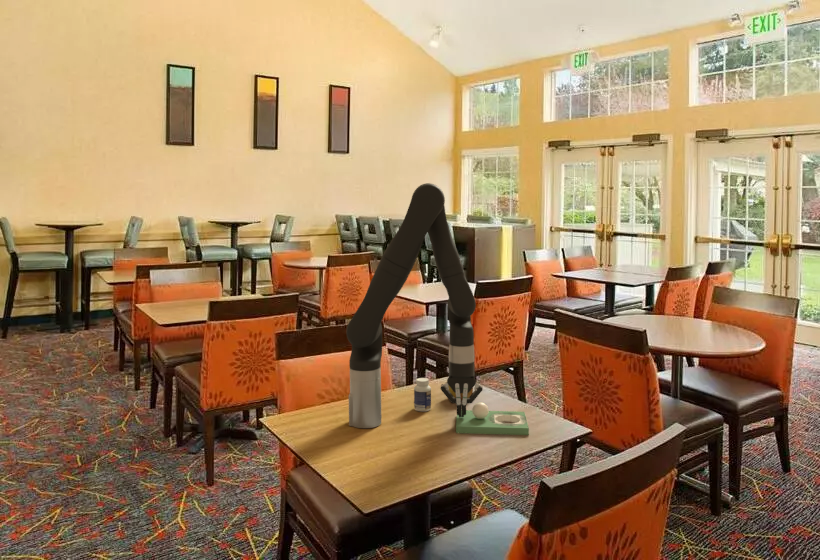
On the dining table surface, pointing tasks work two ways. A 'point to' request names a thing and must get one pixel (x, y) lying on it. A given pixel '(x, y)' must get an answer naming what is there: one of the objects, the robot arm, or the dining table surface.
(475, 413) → the ball
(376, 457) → the dining table surface
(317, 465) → the dining table surface
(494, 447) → the dining table surface
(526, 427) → the green flat block
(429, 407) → the pill bottle
